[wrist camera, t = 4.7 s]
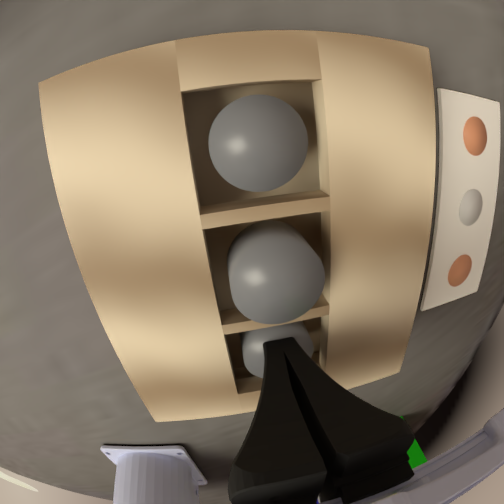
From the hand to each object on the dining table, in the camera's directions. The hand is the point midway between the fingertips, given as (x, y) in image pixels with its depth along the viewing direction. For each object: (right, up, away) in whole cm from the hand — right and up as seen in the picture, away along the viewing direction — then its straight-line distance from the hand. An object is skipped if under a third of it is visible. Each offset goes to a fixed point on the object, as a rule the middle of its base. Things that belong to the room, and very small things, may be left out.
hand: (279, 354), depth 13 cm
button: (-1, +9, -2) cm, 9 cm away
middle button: (-1, +4, -1) cm, 5 cm away
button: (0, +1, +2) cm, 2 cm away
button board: (-1, +5, +1) cm, 6 cm away
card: (+12, +8, +2) cm, 15 cm away
